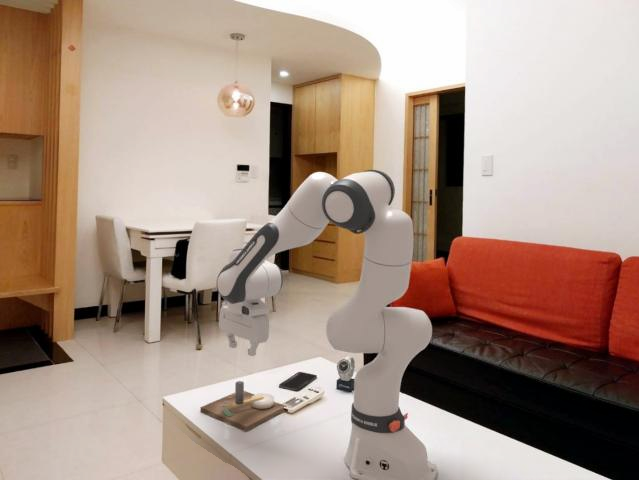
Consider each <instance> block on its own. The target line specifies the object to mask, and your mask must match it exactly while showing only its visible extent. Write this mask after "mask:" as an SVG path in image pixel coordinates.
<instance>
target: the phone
mask: <svg viewBox="0 0 639 480" xmlns="http://www.w3.org/2000/svg"><path fill="white" fill-rule="evenodd" d="M317 378H318V375H316V374H314V373H309V372H303V371H298V372H296V373H295V374H293V375H291V376H289V378H286V379H285V380H284V381H282V382H281V383H279V386H278V388H280V389H283V390H288V391H291V392H296V393H297V392H300V391H302V390H303V389H304V388H305V387H307V386H309V385H310V384H311V383H313V382H314V381H316V380H317Z"/></svg>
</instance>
